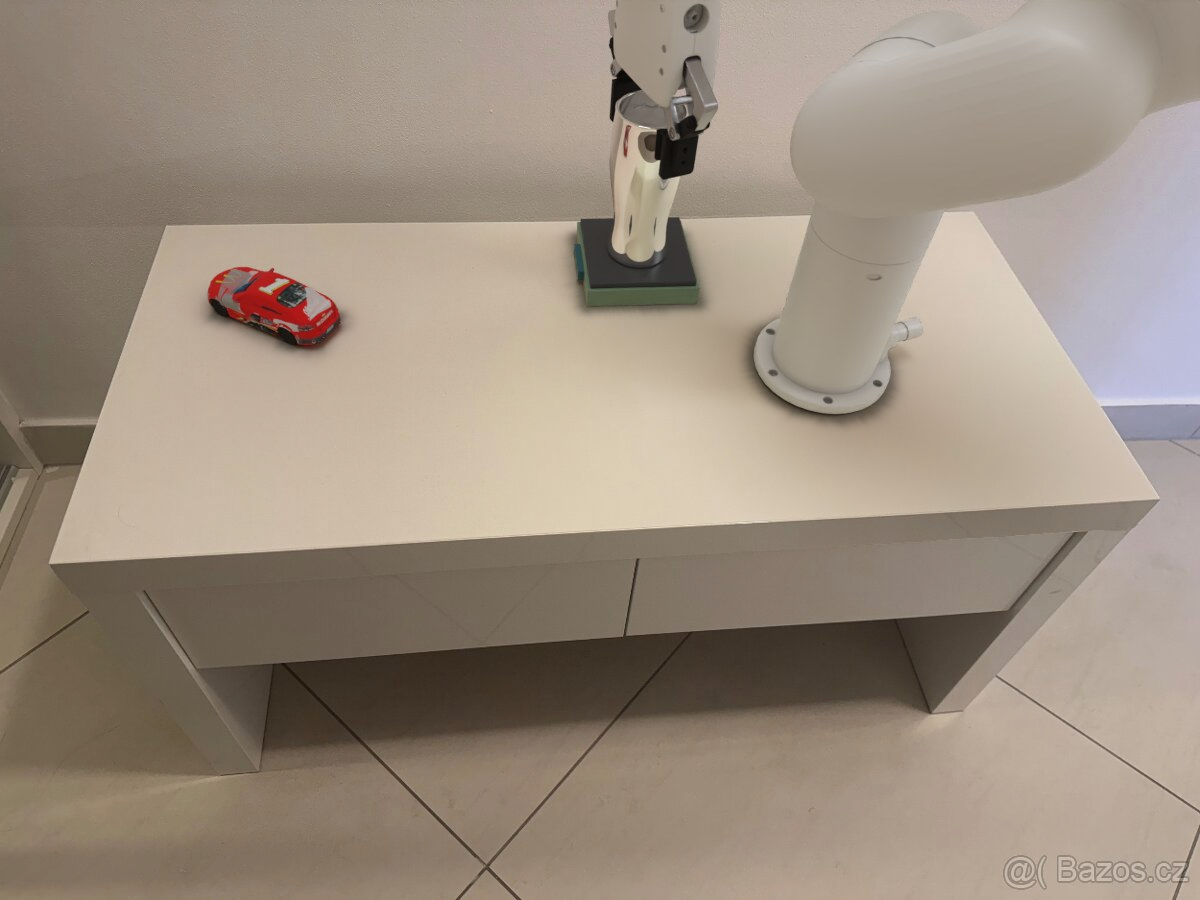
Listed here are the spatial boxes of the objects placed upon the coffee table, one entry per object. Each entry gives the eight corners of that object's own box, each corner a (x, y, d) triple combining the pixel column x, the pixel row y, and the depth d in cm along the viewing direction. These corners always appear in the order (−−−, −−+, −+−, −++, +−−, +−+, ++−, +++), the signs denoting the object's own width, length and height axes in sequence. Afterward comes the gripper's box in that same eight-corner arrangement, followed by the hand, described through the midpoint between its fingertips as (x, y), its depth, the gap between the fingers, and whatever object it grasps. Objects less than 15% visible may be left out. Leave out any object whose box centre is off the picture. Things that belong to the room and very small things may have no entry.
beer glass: (665, 276, 84) (687, 135, 72) (596, 264, 84) (606, 122, 73) (676, 234, 88) (697, 95, 76) (609, 222, 89) (621, 82, 77)
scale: (678, 235, 92) (681, 215, 90) (696, 303, 85) (700, 283, 83) (570, 237, 91) (571, 216, 89) (580, 307, 84) (581, 286, 82)
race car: (200, 308, 81) (186, 274, 78) (240, 276, 84) (229, 242, 81) (312, 358, 77) (303, 325, 74) (350, 323, 81) (342, 289, 78)
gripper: (777, -22, 60) (734, 190, 74) (662, -108, 70) (643, 93, 83) (684, -8, 58) (657, 208, 71) (579, -99, 68) (572, 106, 81)
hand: (649, 146), depth 77 cm, fingers open, 9 cm apart
